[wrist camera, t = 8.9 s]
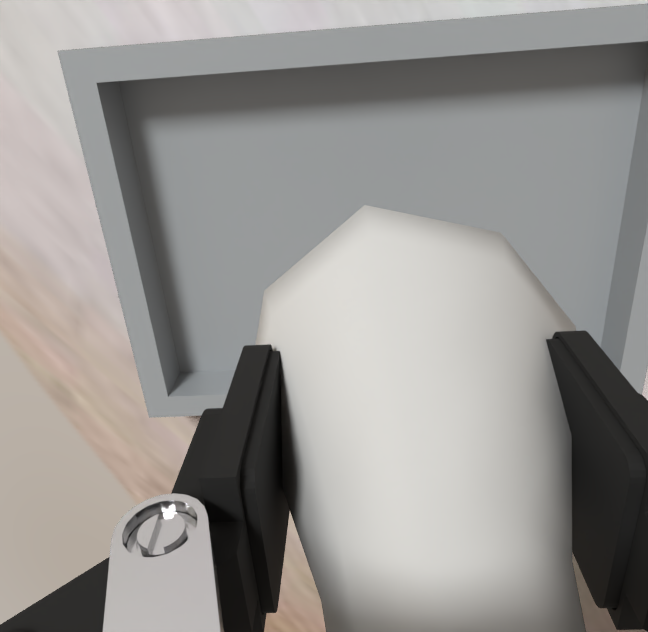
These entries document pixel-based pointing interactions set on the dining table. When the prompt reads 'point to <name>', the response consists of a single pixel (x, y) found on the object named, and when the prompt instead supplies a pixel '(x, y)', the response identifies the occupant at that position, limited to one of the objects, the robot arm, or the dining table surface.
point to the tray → (363, 169)
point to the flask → (425, 429)
